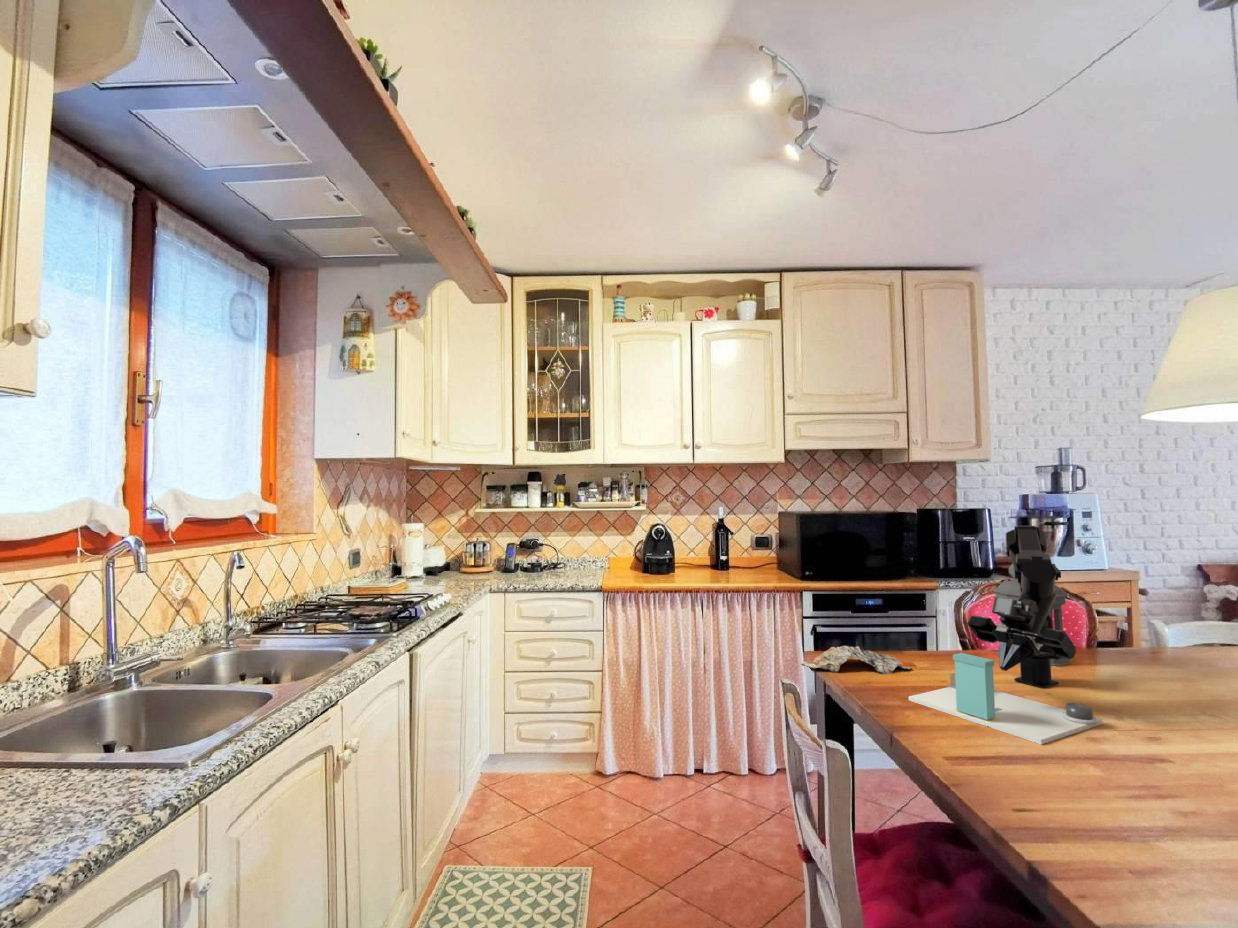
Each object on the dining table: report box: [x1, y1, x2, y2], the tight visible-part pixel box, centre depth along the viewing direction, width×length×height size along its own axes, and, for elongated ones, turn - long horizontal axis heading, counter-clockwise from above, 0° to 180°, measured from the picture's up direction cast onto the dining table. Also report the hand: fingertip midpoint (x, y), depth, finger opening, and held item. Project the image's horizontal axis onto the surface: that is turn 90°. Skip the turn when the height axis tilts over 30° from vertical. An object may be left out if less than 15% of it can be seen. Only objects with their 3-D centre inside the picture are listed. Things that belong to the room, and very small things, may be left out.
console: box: [908, 672, 1103, 745], centre depth 120 cm, size 20×27×4 cm
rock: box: [800, 645, 912, 675], centre depth 153 cm, size 27×15×5 cm, turn 89°
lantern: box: [992, 552, 1071, 667], centre depth 160 cm, size 17×17×35 cm
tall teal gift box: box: [952, 652, 995, 720], centre depth 116 cm, size 3×6×11 cm, turn 27°
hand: (1002, 669), depth 120 cm, fingers closed
